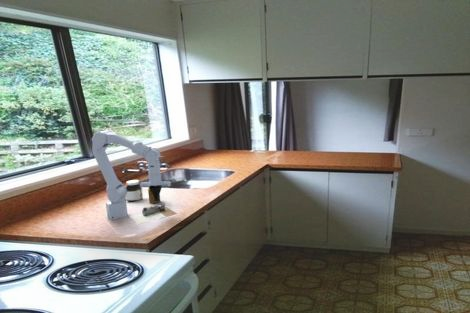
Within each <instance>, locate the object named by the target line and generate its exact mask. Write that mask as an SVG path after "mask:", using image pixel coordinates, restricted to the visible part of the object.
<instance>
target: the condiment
mask: <svg viewBox="0 0 470 313" xmlns="http://www.w3.org/2000/svg"><path fill="white" fill-rule="evenodd" d="M149 188H150V186H149V187H148V188H147V191H148V192H147V193H148V194H147V195H148V201H149V202H148V203H149V204H151V205H155V204H160V203H161V194H160V195H159V200H158V201H155V198H154V196H153V194H152V192H151V191H150V189H149Z"/></svg>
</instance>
